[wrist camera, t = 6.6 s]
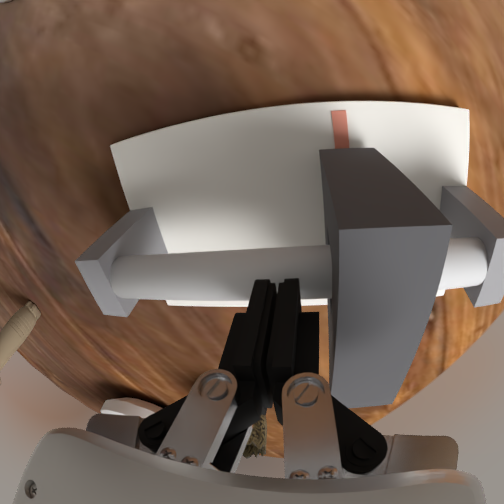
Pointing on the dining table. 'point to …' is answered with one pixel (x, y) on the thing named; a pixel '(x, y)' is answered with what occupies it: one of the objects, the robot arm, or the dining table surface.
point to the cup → (257, 439)
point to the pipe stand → (277, 203)
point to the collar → (377, 272)
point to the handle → (17, 331)
